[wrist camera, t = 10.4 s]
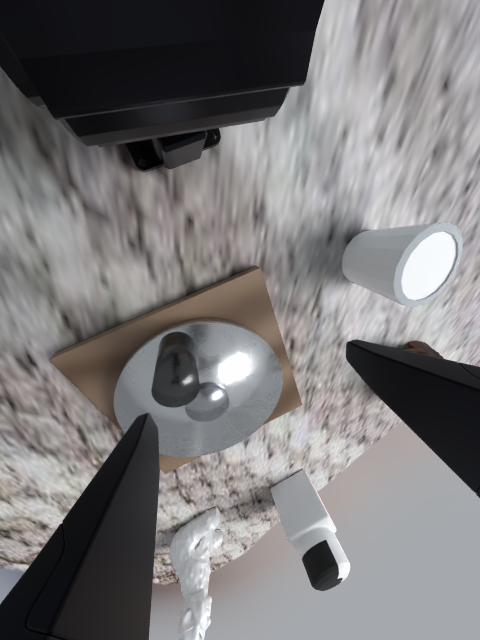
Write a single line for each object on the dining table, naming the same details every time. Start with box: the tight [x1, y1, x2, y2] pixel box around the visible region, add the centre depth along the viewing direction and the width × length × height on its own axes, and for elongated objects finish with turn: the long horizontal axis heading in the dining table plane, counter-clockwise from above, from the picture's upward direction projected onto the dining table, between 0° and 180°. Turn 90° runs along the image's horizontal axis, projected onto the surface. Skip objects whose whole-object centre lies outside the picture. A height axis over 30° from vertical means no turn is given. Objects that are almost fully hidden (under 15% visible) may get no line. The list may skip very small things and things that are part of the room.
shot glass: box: [342, 222, 462, 307], centre depth 20 cm, size 7×7×7 cm
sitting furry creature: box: [169, 507, 223, 640], centre depth 31 cm, size 10×9×12 cm
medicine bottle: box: [270, 469, 350, 591], centre depth 34 cm, size 7×7×12 cm
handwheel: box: [114, 318, 283, 457], centre depth 20 cm, size 17×17×7 cm
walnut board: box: [49, 266, 302, 474], centre depth 24 cm, size 20×20×1 cm
